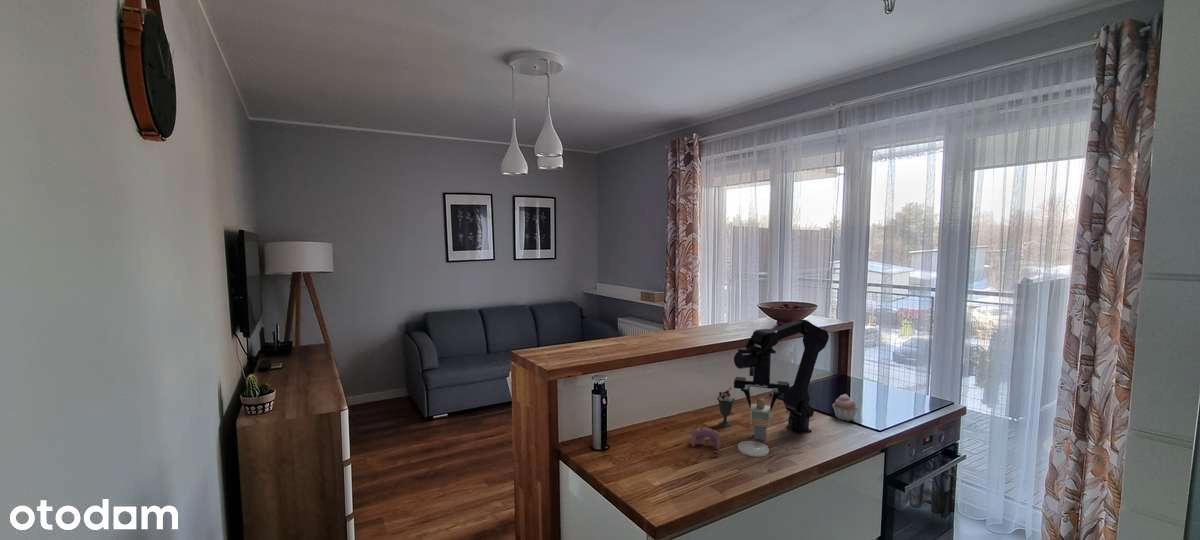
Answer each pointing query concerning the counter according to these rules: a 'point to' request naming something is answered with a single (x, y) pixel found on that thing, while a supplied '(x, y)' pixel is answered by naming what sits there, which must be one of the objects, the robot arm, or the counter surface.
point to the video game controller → (706, 432)
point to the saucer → (753, 448)
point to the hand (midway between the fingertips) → (760, 408)
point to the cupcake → (845, 408)
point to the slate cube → (760, 432)
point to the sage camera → (760, 411)
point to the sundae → (725, 406)
